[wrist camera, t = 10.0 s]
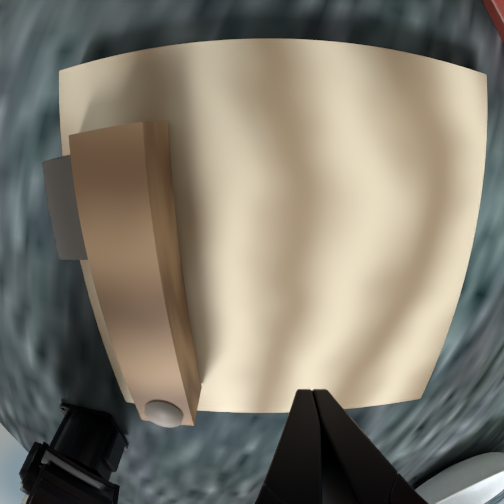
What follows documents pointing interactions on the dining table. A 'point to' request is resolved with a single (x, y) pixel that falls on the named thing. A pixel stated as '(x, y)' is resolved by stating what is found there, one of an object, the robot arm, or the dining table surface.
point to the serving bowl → (466, 481)
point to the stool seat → (298, 208)
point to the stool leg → (138, 264)
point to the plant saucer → (496, 14)
